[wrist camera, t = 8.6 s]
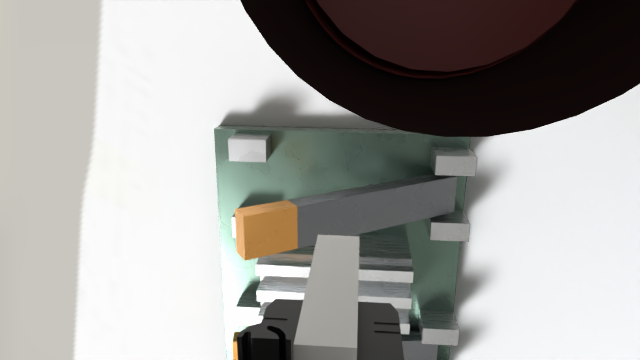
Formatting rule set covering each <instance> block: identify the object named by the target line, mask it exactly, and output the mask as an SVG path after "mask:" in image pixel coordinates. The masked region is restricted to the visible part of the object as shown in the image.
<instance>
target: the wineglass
mask: <svg viewBox="0 0 640 360" xmlns="http://www.w3.org/2000/svg"><path fill="white" fill-rule="evenodd" d="M241 2H242V5H243V7H244V9H245V11H246V12H247V14H248V15H249V17H250V18H251V20H252V21H253V23H254V24H255V26H256V27H257V29H258V30H259V32H260V33H261V35H262V36H263V38H264V39H265V40H266V42H267V43H268V45H269V46H270V47H271V48H272V49H273V51H274V52H275V53H276V54H277V55H278V56H279V57H280V58H281V59H282V60H283V61H284V62H285V63H286V64H287V65H288V66H289V68H290V69H291V70H292V71H293V72H294V73H295V74H296V75H297V76H298V77H299V78H301V79H302V80H303V81H305V82H306V83H307V84H309V85H310V86H311V87H313V88H314V89H315V90H317V91H318V92H319V93H321V94H322V95H323V96H325V97H326V98H327V99H329V100H330V101H332V102H334V103H336V104H338V105H340V106H341V107H343V108H345V109H347V110H349V111H351V112H353V113H355V114H357V115H359V116H361V117H363V118H365V119H367V120H370V121H374V122H377V123H380V124H383V125H386V126H389V127H393V128H396V129H399V130H402V131H406V132H413V133H420V134H427V135H434V136H441V137H488V136H494V135H500V134H507V133H513V132H519V131H525V130H531V129H535V128H538V127H541V126H544V125H548V124H551V123H554V122H557V121H561V120H564V119H567V118H570V117H573V116H577V115H579V114H581V113H583V112H585V111H587V110H590V109H592V108H594V107H596V106H598V105H601V104H603V103H605V102H607V101H609V100H611V99H614V98H616V97H618V96H620V95H622V94H624V93H625V92H627V91H629V90H630V89H632V88H633V87H635V86H637V85H638V84H640V0H241Z"/></svg>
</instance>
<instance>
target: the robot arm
mask: <svg viewBox="0 0 640 360" xmlns="http://www.w3.org/2000/svg"><path fill="white" fill-rule="evenodd" d="M358 280H359V236H340V235H318V236H317V241H316V245H315V250H314V254H313V259H312V263H311V268H310V272H309V277H308V281H307V286H306V290H305V295H304V299H303V300H294V299H275V300H274V301H273V302H272V303H270V304H269V305H268V306H267V307H266V309H265V312H264V315H263V319H262V321H261V323H258V324H254V325H251V326H248V327H246V328H245V329H243V330H242V331H241V332H240V333H239V334H238V336H237V353H238V360H404V354H403V346H402V337H401V329H400V321H399V313H398V312H397V310H396V309H395V308H394V307H393V306H392V304H391V303H377V302H358Z"/></svg>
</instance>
